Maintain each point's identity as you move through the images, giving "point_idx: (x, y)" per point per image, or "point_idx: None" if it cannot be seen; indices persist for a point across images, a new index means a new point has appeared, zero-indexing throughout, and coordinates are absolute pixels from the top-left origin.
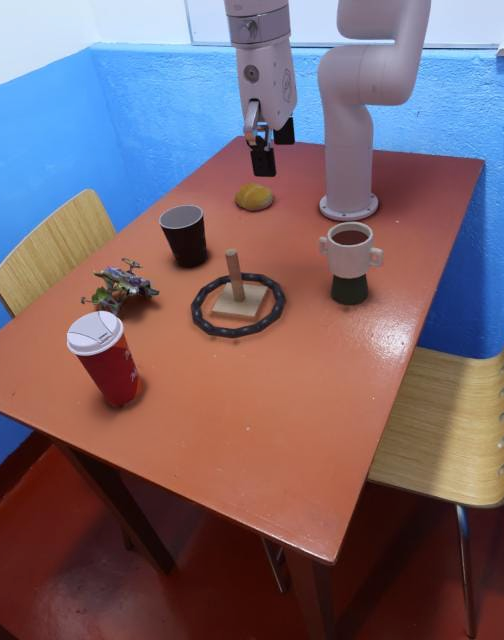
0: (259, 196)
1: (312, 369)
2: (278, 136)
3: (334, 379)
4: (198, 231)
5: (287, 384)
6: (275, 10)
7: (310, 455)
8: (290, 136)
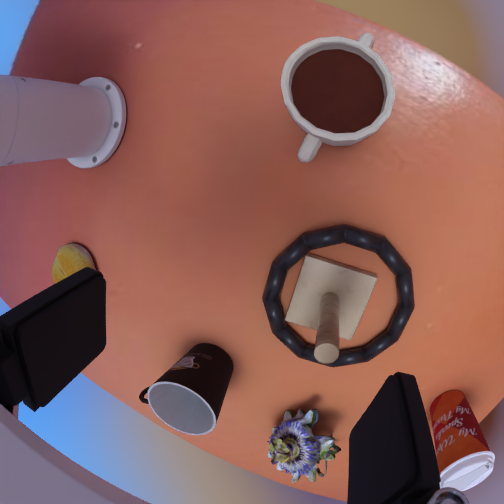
0: (77, 267)
1: (477, 194)
2: (84, 350)
3: (493, 168)
4: (203, 381)
5: (493, 230)
6: None
7: None
8: (80, 300)
